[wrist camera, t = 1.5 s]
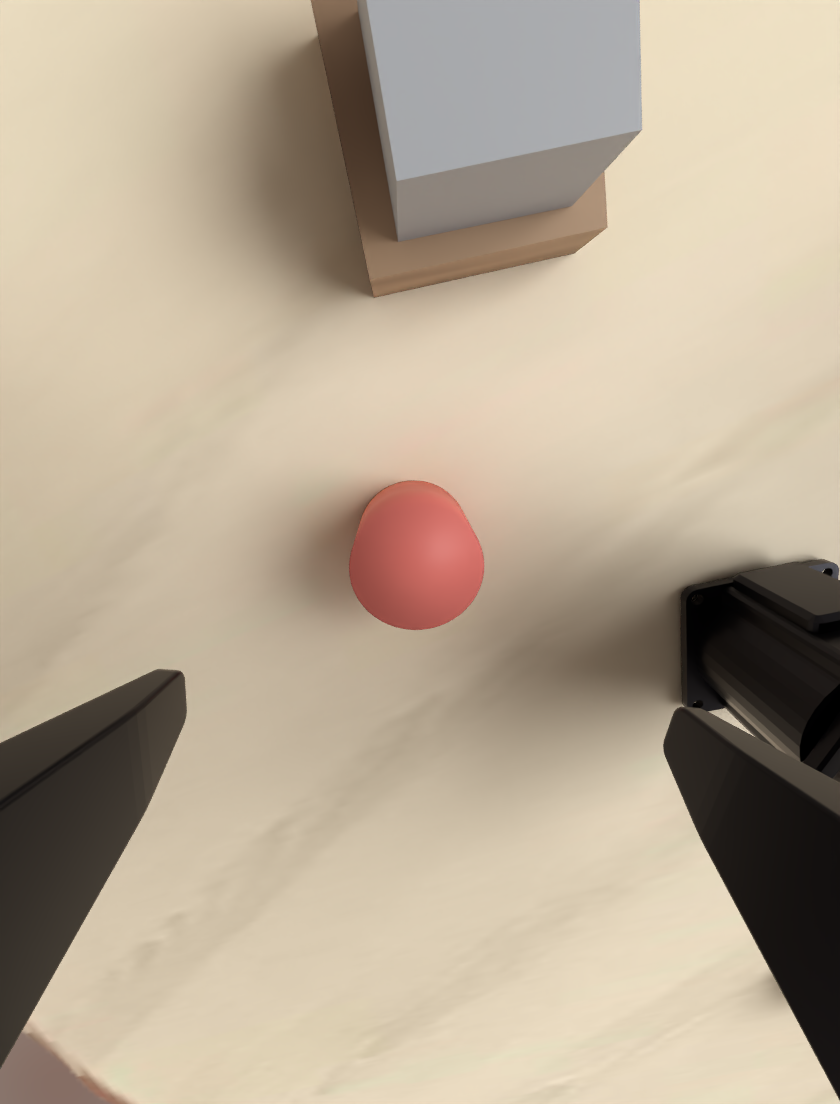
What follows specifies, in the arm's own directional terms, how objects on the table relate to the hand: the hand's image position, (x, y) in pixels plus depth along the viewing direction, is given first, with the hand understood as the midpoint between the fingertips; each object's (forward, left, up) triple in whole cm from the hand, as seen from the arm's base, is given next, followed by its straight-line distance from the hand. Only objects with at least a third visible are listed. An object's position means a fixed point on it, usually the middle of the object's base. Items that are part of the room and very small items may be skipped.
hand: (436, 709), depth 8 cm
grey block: (+12, -4, -8) cm, 15 cm away
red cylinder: (0, 0, -11) cm, 11 cm away
